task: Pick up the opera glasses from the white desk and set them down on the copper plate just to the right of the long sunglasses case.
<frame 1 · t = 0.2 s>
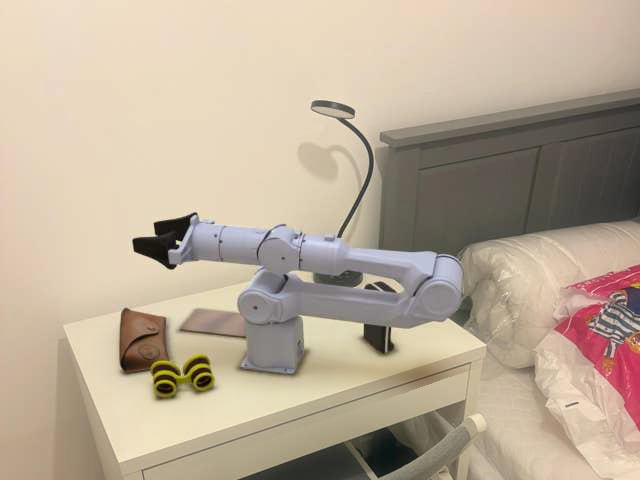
hand: (144, 236, 105), 21 cm above the table, tool horizontal, fingers open, 7 cm apart
battery charger: (381, 345, 117), on the table
opera glasses: (184, 388, 107), on the table
copper plate: (220, 323, 124), on the table
sunglasses case: (145, 345, 118), on the table
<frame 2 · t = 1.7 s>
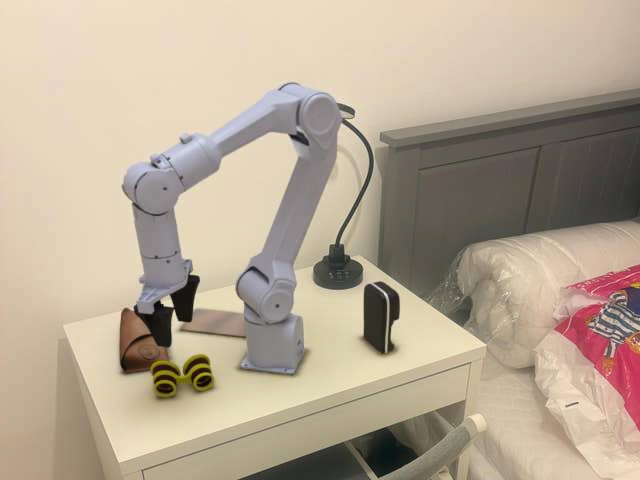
hand: (175, 333, 101), 10 cm above the table, tool pointing down, fingers open, 7 cm apart
nothing on the table moved.
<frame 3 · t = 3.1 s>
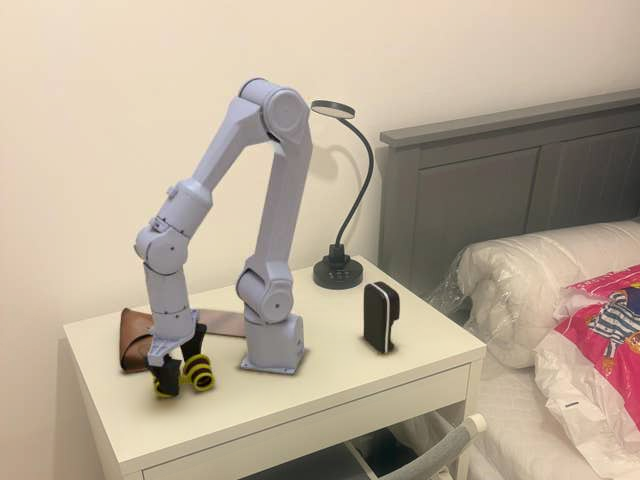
hand: (182, 379, 106), 1 cm above the table, tool pointing down
opera glasses: (185, 388, 107), on the table, touching gripper
everything else where it was.
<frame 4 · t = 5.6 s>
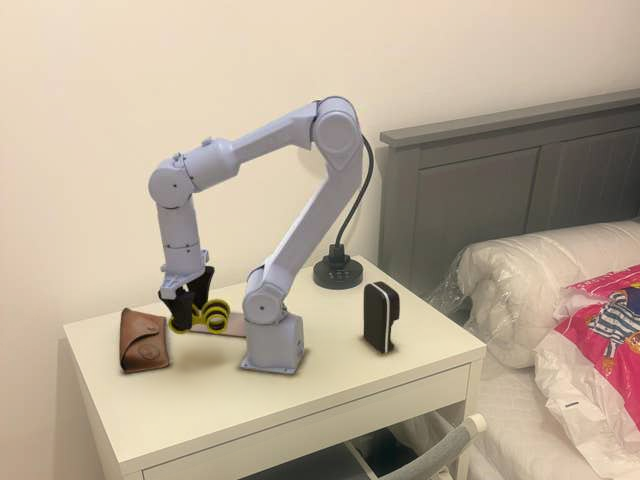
hand: (193, 318, 109), 8 cm above the table, tool pointing down, fingers closed on opera glasses, 6 cm apart
opera glasses: (201, 330, 109), point 6 cm above the table, touching gripper
everything else where it was.
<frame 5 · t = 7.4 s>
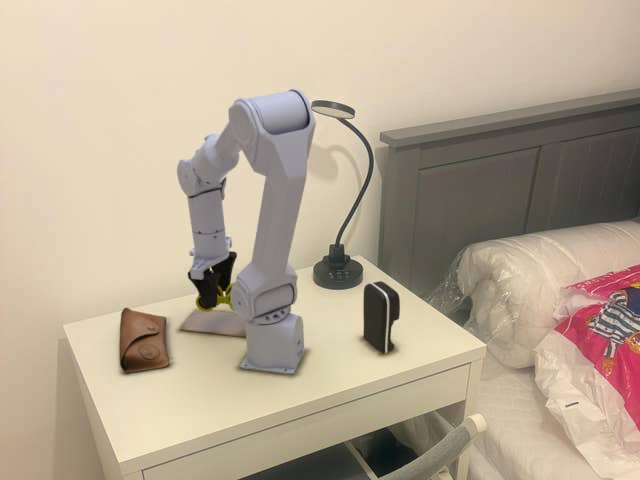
hand: (217, 298, 121), 5 cm above the table, tool pointing down, fingers closed on opera glasses, 6 cm apart
opera glasses: (224, 309, 122), point 3 cm above the table, touching gripper
everything else where it was.
when the fingers open (3 cm above the table, at t = 8.6 s): opera glasses stays where it is, resting on copper plate.
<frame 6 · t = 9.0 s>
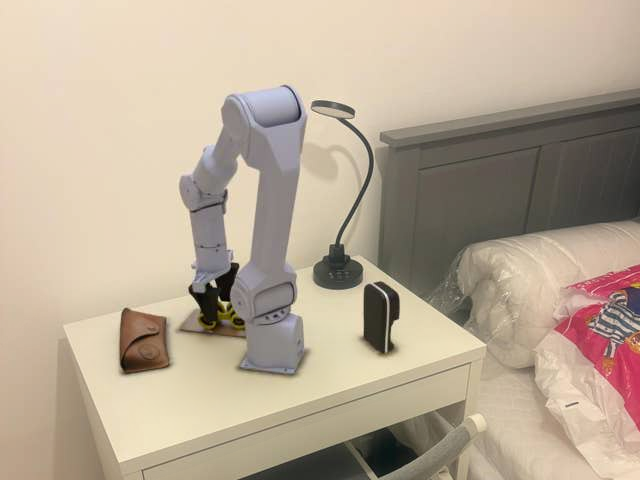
hand: (219, 310, 122), 3 cm above the table, tool pointing down, fingers open, 7 cm apart
opera glasses: (226, 324, 123), resting on copper plate
everything else where it was.
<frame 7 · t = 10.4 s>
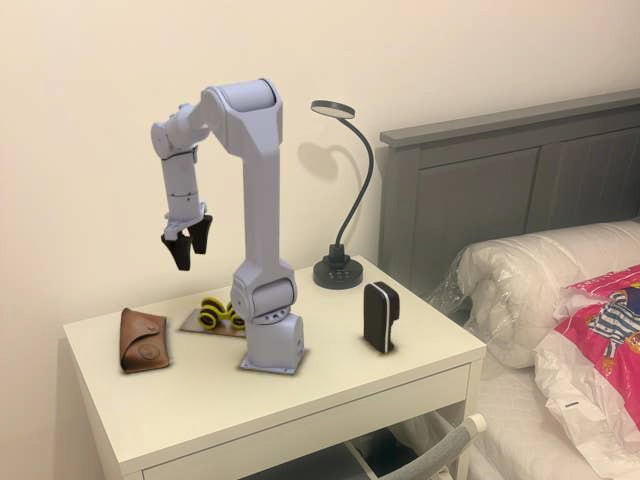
hand: (192, 261, 125), 9 cm above the table, tool pointing down, fingers open, 7 cm apart
nothing on the table moved.
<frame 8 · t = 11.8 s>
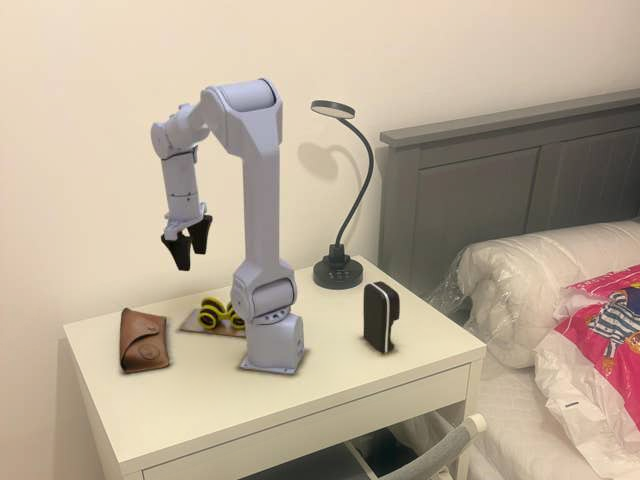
hand: (192, 261, 125), 9 cm above the table, tool pointing down, fingers open, 7 cm apart
nothing on the table moved.
at the end: opera glasses 1.3 cm from the copper plate (horizontally); opera glasses inside the target area on the table beside the sunglasses case (0.9 cm from its centre), resting on copper plate; opera glasses tilted 0° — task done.
